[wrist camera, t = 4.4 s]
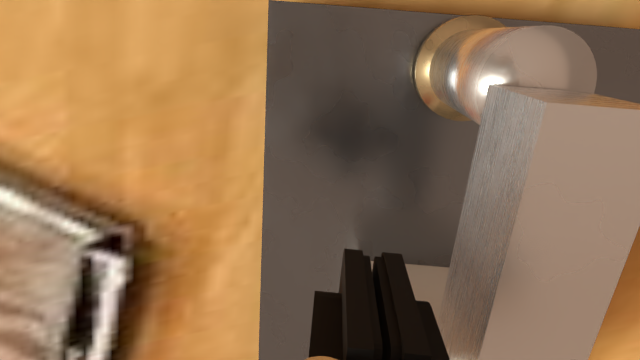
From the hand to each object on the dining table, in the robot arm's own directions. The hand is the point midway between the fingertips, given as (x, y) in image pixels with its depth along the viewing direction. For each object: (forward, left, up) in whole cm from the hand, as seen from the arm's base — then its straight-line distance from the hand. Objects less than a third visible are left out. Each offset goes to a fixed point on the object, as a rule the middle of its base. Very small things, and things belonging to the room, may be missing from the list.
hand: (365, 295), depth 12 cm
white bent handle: (-1, +4, -7) cm, 8 cm away
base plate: (+3, +4, -10) cm, 11 cm away
